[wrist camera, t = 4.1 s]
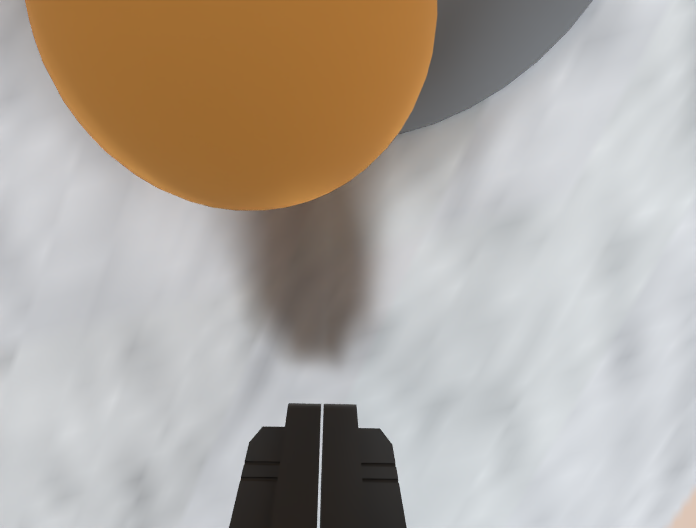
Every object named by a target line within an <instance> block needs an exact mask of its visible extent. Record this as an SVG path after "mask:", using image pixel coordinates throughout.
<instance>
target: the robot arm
mask: <svg viewBox="0 0 696 528" xmlns="http://www.w3.org/2000/svg"><path fill="white" fill-rule="evenodd" d="M320 418H321V404H298V403H289V404H288V409H287V416H286V424H285V427H262V428H261V429H260V430H259V432H258V433H257V434H256V435H255V436H254V437H253V439H252V440H251V441H250V442H249V446H248V450H247V454H246V458H245V465H244V467H243V471H242V475H241V481H240V484H239V488H238V492H237V496H236V501H235V505H234V509H233V513H232V518H231V522H230V526H229V528H317V508H318V479H319V449H320ZM320 528H406V522H405V516H404V510H403V504H402V499H401V493H400V487H399V483H398V476H397V470H396V467H395V458H394V452H393V447H392V444H391V442H390V441H389V440H388V439H387V437H386V436H385V435H384V433H383V432H382V431H381V429H374V428H358V419H357V407H356V405H352V404H324V415H323V443H322V473H321V508H320Z"/></svg>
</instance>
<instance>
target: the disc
mask: <svg viewBox="0 0 696 528" xmlns="http://www.w3.org/2000/svg"><path fill="white" fill-rule="evenodd" d="M592 1H593V0H437V22H436V30H435V38H434V46H433V54H432V58H431V61H430V65H429V69H428V73H427V76H426V79H425V82H424V84H423V87H422V89H421V91H420V94H419V96H418V99H417V101H416V103H415V106H414V108H413V110H412V112H411V114H410V115H409V117H408V119H407V120H406V122H405V124H404V126H403V127H402V129H401V130H400V132H399V133H398V134H401V133H404V132H408V131H411V130H414V129H418V128H421V127H425V126H428V125H432V124H435V123H437V122H439V121H441V120H444V119H446V118H448V117H451V116H453V115H455V114H457V113H460V112H462V111H464V110H467V109H469V108H471V107H472V106H474V105H476V104H477V103H479V102H481V101H482V100H484V99H486V98H487V97H489V96H491V95H492V94H494V93H496V92H497V91H499V90H501V89H502V88H504V87H505V86H507V85H508V84H509V83H511V82H512V81H513V80H514V79H516V78H517V77H518V76H519V75H521V74H522V73H523V72H525V71H526V70H527V69H528V68H530V67H531V66H532V65H534V64H535V63H536V62H537V61H538V60H539V59H540V58H541V57H542V56H543V55H544V54H545V53H546V52H547V51H548V50H549V49H550V48H552V47H553V46H554V45H555V44H556V43H557V42H558V41H559V40H560V39H561V38H562V37H563V36H564V35H565V34H566V33H567V32H568V31H569V29H570V28H571V27H572V26H573V24H574V23H575V22H576V21H577V19H578V18H579V17H580V16H581V14H582V13H583V12H584V11H585V9H586V8H587V7H588V6H589V4H590V3H591V2H592Z"/></svg>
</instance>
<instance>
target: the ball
mask: <svg viewBox="0 0 696 528" xmlns="http://www.w3.org/2000/svg"><path fill="white" fill-rule="evenodd" d="M25 2H26V7H27V12H28V16H29V21H30V25H31V28H32V32H33V35H34V39H35V42H36V44H37V47H38V50H39V53H40V55H41V58H42V61H43V63H44V65H45V67H46V69H47V71H48V73H49V75H50V77H51V79H52V80H53V82H54V84H55V86H56V88H57V90H58V92H59V94H60V95H61V97H62V99H63V101H64V103H65V104H66V105H67V107H68V108H69V109H70V111H71V112H72V114H73V115H74V116H75V118H76V119H77V120H78V122H79V123H80V124H81V125H82V127H83V128H84V129H85V130H86V131H87V132H88V134H89V135H90V136H91V137H92V138H93V139H94V140H95V141H96V142H97V143H98V144H99V145H100V146H101V147H102V148H103V149H104V150H105V151H106V152H107V153H108V154H109V155H111V156H112V157H113V158H114V159H116V160H117V161H118V162H119V163H121V164H122V165H123V166H125V167H126V168H127V169H128V170H130V171H131V172H132V173H134V174H135V175H136V176H138V177H140V178H141V179H143V180H145V181H147V182H148V183H150V184H152V185H153V186H155V187H157V188H159V189H161V190H164V191H166V192H168V193H171V194H173V195H176V196H178V197H181V198H183V199H185V200H188V201H191V202H194V203H198V204H202V205H206V206H209V207H214V208H222V209H229V210H270V209H278V208H285V207H290V206H293V205H297V204H301V203H305V202H308V201H311V200H313V199H316V198H318V197H321V196H323V195H325V194H328V193H330V192H332V191H333V190H335V189H337V188H339V187H340V186H342V185H344V184H346V183H347V182H349V181H350V180H352V179H353V178H354V177H356V176H357V175H358V174H360V173H361V172H362V171H364V170H365V169H366V168H367V167H368V166H369V165H370V164H371V163H372V162H373V161H374V160H375V159H376V158H377V157H378V156H379V155H380V154H381V153H382V152H383V151H384V150H385V149H386V148H387V147H388V146H389V144H390V143H391V142H392V141H393V139H394V138H395V137H396V136H397V134H398V133H399V132H400V130H401V129H402V127H403V126H404V124H405V122H406V120H407V119H408V117H409V115H410V114H411V112H412V110H413V108H414V106H415V103H416V101H417V99H418V96H419V94H420V91H421V89H422V87H423V84H424V82H425V79H426V76H427V73H428V69H429V65H430V61H431V58H432V54H433V46H434V38H435V30H436V22H437V0H25Z"/></svg>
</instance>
